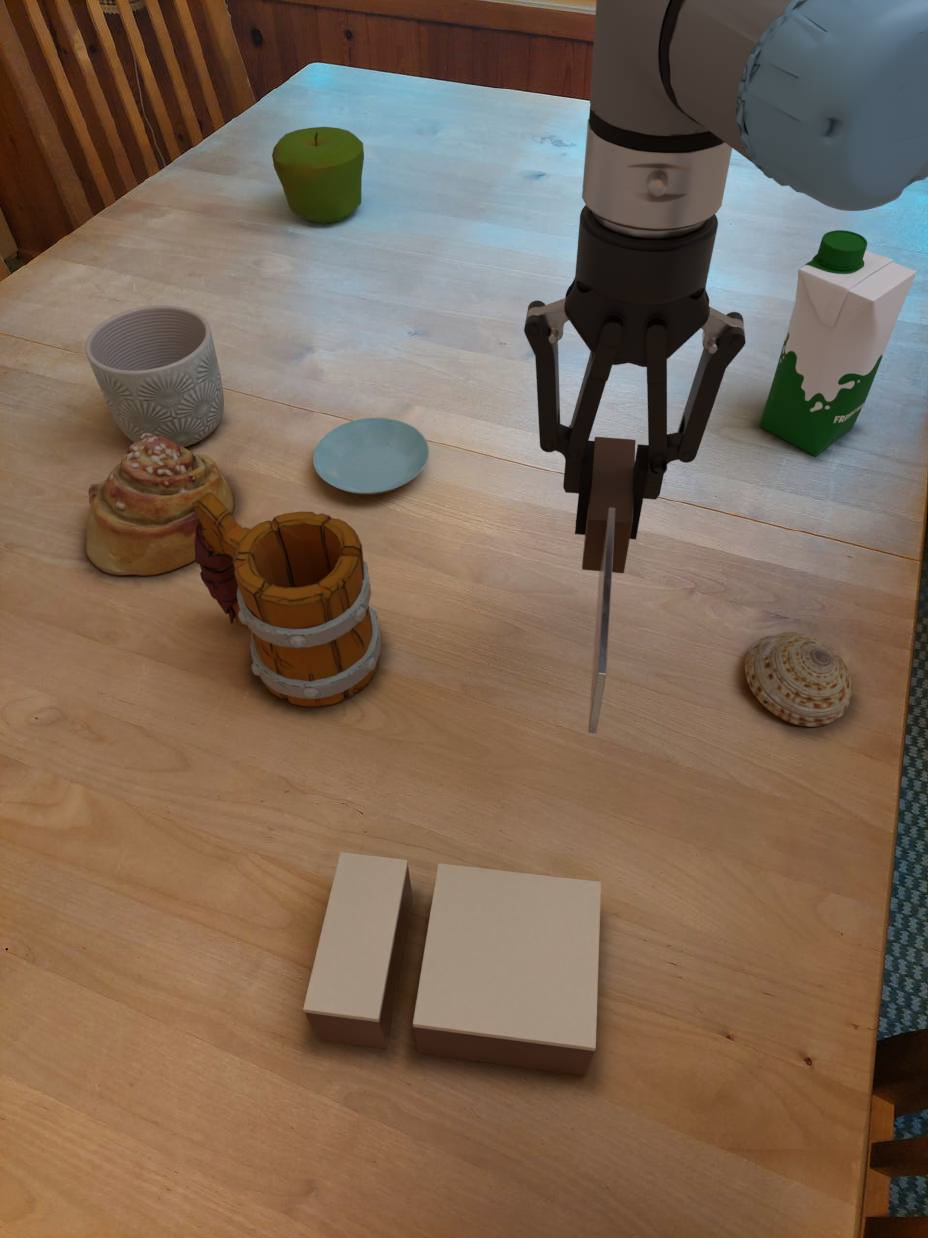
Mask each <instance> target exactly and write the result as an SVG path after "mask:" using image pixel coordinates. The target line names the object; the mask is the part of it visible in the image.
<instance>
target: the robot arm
mask: <svg viewBox="0 0 928 1238" xmlns="http://www.w3.org/2000/svg"><path fill="white" fill-rule="evenodd" d="M595 3H596V5H595V17H594V18H595V19H594V33H593V46H592V47H593V48H592V61H591V78H590V91H589V114H588V119H587V122H586V123H587V124H586V137H585V151H584V164H583V178H582V179H583V180H582V193H581V199H582V200H583V202H584V204H585V205H584V206H583V207H582V209H581V210H580V213H579V222H578V223H579V225H578V236H577V237H578V238H577V247H576V248H577V249H576V260H575V261H576V262H575V274H574V278H573V280H572V283H571V284H570V285H569V286H568V288H567V290H566V292H565V297H564V298H561V299H559V300H556V301H553V302H550V303H547V304H545V302H543V301H542V300H538V299H537V300H533V301H531V302H530V303H529V304H528V307H527V311H526V315H525V322H524V327H523V332H524V335H525V337H526V339H527V342H528V344H529V347H530V348H531V350H532V353H533V354H534V356H535V359H534V360H535V376H536V378H535V379H536V395H537V396H536V397H537V416H538V417H537V418H538V435H539V437H538V438H539V447H540V449H541V450H542V452H545V453H554V452H558V453H559V454H561V455H562V456H563V457H564V471H563V484H562V488H563V490H564V493H565V494H578V496H577V506H576V518H575V526H574V528H575V529H574V535H578V536H579V535H580V536H585V530H586V521H587V513H588V504H589V495H590V488H591V480H592V471H593V461H594V448H595V441H594V440H590V436H591V433H592V430H593V426H594V423H595V420H596V416H597V413H598V410H599V407H600V404H601V400H602V396H603V394H604V390H605V387H606V384H607V382H608V380H609V377H610V374H611V371H612V369H613V366H619V365H626V364H631V365H634V366H637V367H641V368H646V389H647V390H646V391H647V393H646V395H647V396H646V397H647V438H648V439H647V440H648V441H647V444H640V443H639V444H638V443H637V445H636V446H637V447H636V451H635V465H634V485H633V492H634V496H633V522H632V528H631V534H630V540H637V536H638V531H639V524H640V518H641V513H642V507H643V502H644V500H656V501H657V499H658V498H659V496H660V495H661V492H662V491H661V490H662V487H663V486H662V485H663V481H664V476H665V473H666V472H667V470H668V465H669V463H671V462H674V461H680V462H682V463H685V464H686V463H691V462H693V461H694V460H695V459H696V457H697V455H698V452H699V449H700V446H701V443H702V440H703V438H704V434H705V431H706V429H707V425H708V423H709V420H710V417H711V413H712V410H713V407H714V405H715V402H716V399H717V397H718V394H719V390H720V388H721V385H722V381H723V379H724V376H725V373H726V370H727V368H728V367H729V366H730V364H731V363H732V362H733V360H734V359H735V358H736V357H737V356H738V354H739V353H740V352H741V351H742V349H743V348H745V345H746V333H745V324H744V323H745V322H744V317H743V315H742V314H741V313H740V312H738V311H731V312H728V313H727V314H725V313H723V312H721V311H720V310H717V309H715V308H714V307H711V306H710V297H709V295H708V291H707V289H706V288H707V283H708V278H709V272H710V267H711V262H712V256H713V252H714V247H715V242H716V236H717V232H718V226H719V220H718V217H717V215H716V214H717V213H718V211H720V209H721V207H722V206H723V199H724V195H725V190H726V185H727V179H728V178H727V177H728V174H729V168H730V162H731V157H732V153H733V152H732V151H733V150H734V151H736V152H737V153H738V154H740V155H741V156H743V157H744V158H745V159H747V160H748V161H749V162H750V163H752V164H753V165H754V166H755V167H756V168H757V170H758V169H759V170H760V171H761V172H762V173H763V175H764V176H765V177H767V178H768V179H772V180H773V181H774V182H775V183H777V184H778V185H779V186H780V187H788V186H789V187H790V188H791V189H792V190H793V191H795V192H796V193H800V194H804V195H807V196H808V197H810V198H811V199H814V200H815V201H817V202H819V203H820V204H822V205H824V206H826V207H829V208H831V209H835V210H839V211H846V212H861V211H869V210H872V209H873V210H874V209H876V208H879V207H883V206H885V205H887V204H889V203H892V202H894V201H896V200H898V199H899V198H900V197H901V195H902V193H903V192H904V190H905V189H906V188H908V187H909V186H911V185H912V184H913V183H915V182H918V181H924V180H926V179H927V178H928V0H596V2H595ZM568 321H569V322H570V323H571V325H572V327H573V328H574V329H575V331H576V333H577V334H578V336H579V337H580V338H581V339H582V341H583V342H584V344H585V345H586V347H587V348H588V350H589V352H590V353H589V357H588V360H587V364H586V366H585V371H584V374H583V378H582V382H581V386H580V389H579V392H578V395H577V400H576V403H575V407H574V411H573V414H572V417H571V421H570V424H569V425H568V426H567V425H564V424H562V423H561V401H560V400H561V399H560V396H561V395H560V365H559V341H560V340H562V338H563V336H564V331H565V323H567V322H568ZM700 329H701V330H702V333H701V341H702V348H703V349H702V353H701V355H700V358H699V360H698V361H699V362H698V365H697V367H696V371H695V374H694V378H693V381H692V384H691V387H690V390H689V393H688V397H687V400H686V403H685V406H684V410H683V412H682V416H681V418H680V419H681V420H680V422H679V426H678V428H677V432H672V433H668V359H670V358H671V357H672V356H673V355H674V354H675V353H676V352H677V351H678V350H680V348H682V347H683V345H684V344H686V343H687V342H688V341H689V340H690V339H692V337H693V336H694V335H695V334H697V333H698V332H699V331H700Z"/></svg>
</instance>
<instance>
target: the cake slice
mask: <svg viewBox="0 0 928 1238" xmlns="http://www.w3.org/2000/svg"><path fill="white" fill-rule="evenodd" d="M413 897H414V896H413V890H412V882H411V876H410V869H409V861H408V859H403V858H396V857H387V856H377V855H370V854H361V853H360V854H359V853H353V852H352V853H351V852H344V851H340V852H339V855H338V859H337V864H336V868H335V872H334V875H333V881H332V884H331V889H330V893H329V896H328V902H327V904H326V905H327V906H326V909H325V914H324V918H323V922H322V927H321V931H320V935H319V939H318V944H317V948H316V951H315V956H314V960H313V963H312V964H313V965H312V968H311V974H310V978H309V982H308V985H307V990H306V995H305V999H304V1003H303V1007H302V1010H303V1012H304V1014H305V1016H306V1019H307V1021H308V1022H309V1025H310V1027H311V1029H312V1031H313V1033H314V1035H315V1037H316V1040H318V1041H325V1042H332V1043H340V1044H345V1045H353V1046H354V1045H355V1046H362V1047H369V1048H374V1049H375V1048H376V1049H377V1048H378V1049H384V1050H386V1049H388V1044H389V1039H390V1038H389V1037H390V1034H391V1033H390V1032H391V1027H392V1020H393V1015H394V1009H395V1003H396V997H397V991H398V986H399V980H400V974H401V968H402V965H403V964H402V963H403V958H404V951H405V945H406V940H407V935H408V928H409V923H410V917H411V913H412V911H411V909H412V906H413V899H414V898H413Z"/></svg>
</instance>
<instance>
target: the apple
mask: <svg viewBox="0 0 928 1238" xmlns="http://www.w3.org/2000/svg"><path fill="white" fill-rule="evenodd" d="M271 157H272V158H271V159H272V163H273V169H274V171H275V174H276V176H277V177H278V178H277V179H278V180H279V182H280V184H281V187H282V190H283V192H284V196H285V199H286V201H287V204H288V207H289V209H290V210H291V211H292V213H293V214H295V215H297V216H299V217H300V218H302V219H304V220H306V221H307V222H310V223H315V224H333V223H338V222H341V221H343V220H345V219H346V218H348V217H349V216H350V215H351V214H353V212H355V211H356V210H357V208H359V207H360V205H361V204H362V182H363V181H362V178H363V177H362V176H363V171H364V170H363V169H364V162H365V152H364V143H363V141H362V140H361V139H360V138H359V137H358V136H357V135H356V134H354V133H352V132H351V131H350V130H347V129H343V128H340V127H334V126H333V127H332V126H316V127H307V128H302V129H296V130H293V131H291V132H290V131H289V132H288V133H285V134H284V135H283V136H282V137H281V138H279V139H278V141H277V143H276V144H275V146H273V149H272V153H271Z"/></svg>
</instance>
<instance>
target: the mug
mask: <svg viewBox="0 0 928 1238" xmlns="http://www.w3.org/2000/svg"><path fill="white" fill-rule="evenodd" d="M192 505H193V508H194V510H195V513H196V514H197V516H198V518H199V520H200V522H199V524H198V526H197V528H196V533H195V560H194V562H195V563H196V564H197V565H199V566H200V567H199V568H200V574H199V576H200V579H201V581H202V582H203V584H204V585H205V587H206V588H207V590H208V592H209V595H210V596H211V597H212V599H214V600H216V602H217V603H218V605H219V606H220V608H221V609H222V610H223V612H224V613H225V615H228V617H229V623H230V625H232V624H233V623H234V621H235V622H236V624H237V625H240V626H242V627H247V628H248V629H249V630H250V631H251V634H250V640H249V643H250V644H249V645H250V646H249V647H250V655H251V660H252V663H251V665H250V667H251V671H252V673H253V674H254V675H255V676H259V678H260V679H261V682H262V683H263V685H264V686H265V687H266V689H267V690H268V691H269V692H270V693H271V694H273V695H274V696H276V697H277V698H279V699H282V700H285V699H287V701H288V702H290V704H291V705H294V706H299V707H304V708H305V707H306V708H321V707H328V706H333V705H336V704H338V703H341V702H343V701H344V697H345V696H346V697H347V698H351V697H353V696H354V694H355V693H357V692H360V691H363V689H364V688H365V687H366V686H367V685H368V684H369V683H370V681H371V680H372V678H373V676H374V674H376V673H375V672H376V671H377V669H378V665H379V662H380V657H381V656H380V654H381V650H382V636H381V631H380V626H379V622H378V619H379V616H378V613H377V611H376V610H375V609H373V607H371V606H370V601H371V596H372V590H371V581H370V574H369V573H370V572H369V566H368V563H367V562H366V560H364V553H363V545H362V542H361V539H360V537H359V535H358V533H357V532H356V530H355V529H354V528H353V527H352V526H351V525H349V523H347V522H346V521H345V520H342V519H340V518H334V517H331V515H329V514H325V513H322V512H321V513H315V512H313V511H294V512H287V513H282V514H279V515H276V516H274V517H273V518H272V519H271V520H270V519H269V520H265V521H262V522H259V523H258V524H255V526H253V527H251V528H249V527H246V526H245V527H243V526H241V524H239V523H238V522H237V520H236V518H235V517H234V516H233V513H232V514H231V513H230V512H229V511H228V509H227V508H226V507H225V506H224V505H223V504H222V502H221V501H220V500H219V499H218V498H217V497H216V496H215V495H213V494H212V493H210V492H207V493H204V494H202V495H201V496H200V497H198V498H197V499H196V500H195V501H194V502H193V503H192Z"/></svg>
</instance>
